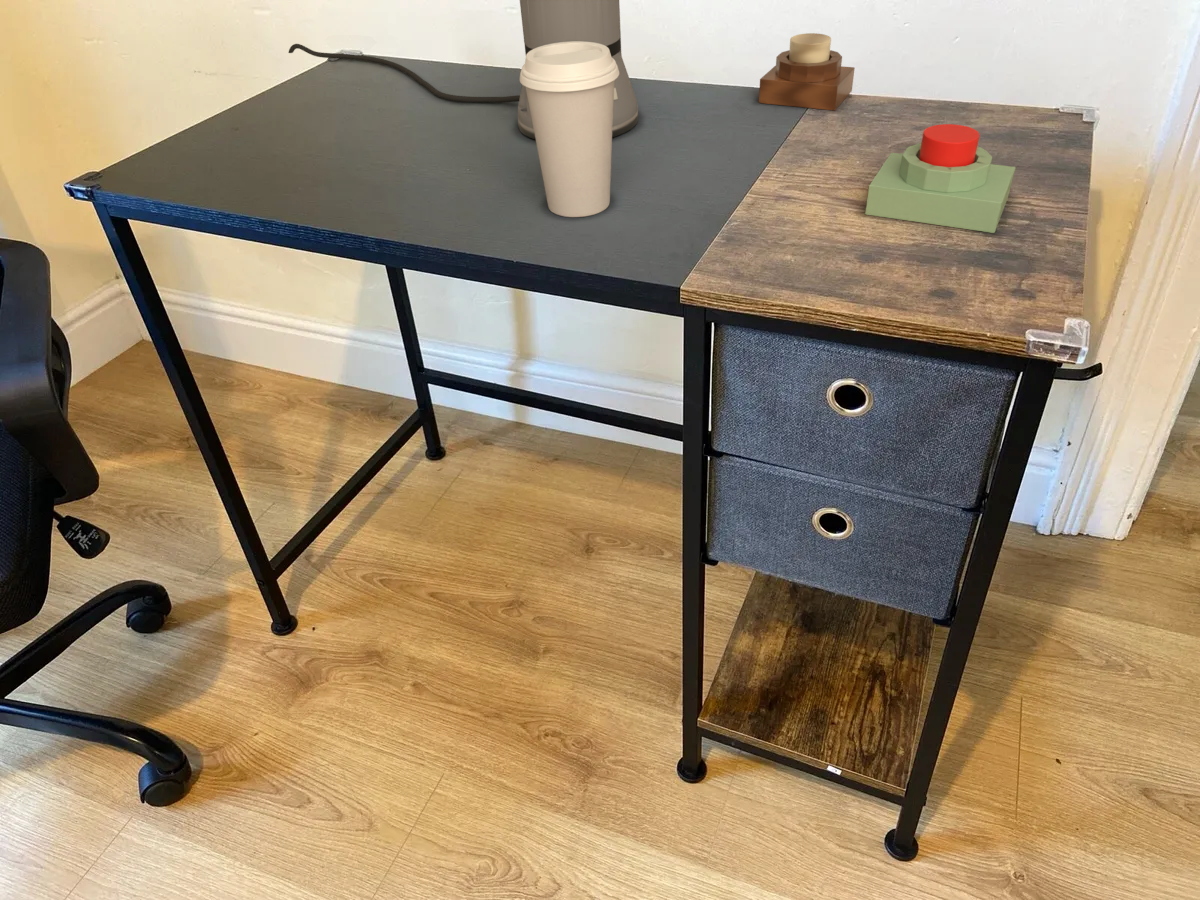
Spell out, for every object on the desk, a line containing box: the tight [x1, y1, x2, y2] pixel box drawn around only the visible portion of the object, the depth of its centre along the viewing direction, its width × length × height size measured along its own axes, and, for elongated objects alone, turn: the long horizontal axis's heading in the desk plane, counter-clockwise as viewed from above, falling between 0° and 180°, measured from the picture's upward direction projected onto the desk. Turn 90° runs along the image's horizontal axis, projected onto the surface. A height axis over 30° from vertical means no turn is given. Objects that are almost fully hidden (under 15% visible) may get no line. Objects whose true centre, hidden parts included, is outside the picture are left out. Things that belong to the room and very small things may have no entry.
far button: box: [789, 32, 832, 63], centre depth 110 cm, size 5×5×2 cm
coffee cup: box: [519, 41, 619, 218], centre depth 87 cm, size 10×10×15 cm
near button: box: [919, 123, 980, 167], centre depth 83 cm, size 5×5×2 cm
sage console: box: [864, 141, 1016, 234], centre depth 85 cm, size 12×9×5 cm
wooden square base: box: [758, 49, 855, 111], centre depth 113 cm, size 10×8×5 cm
